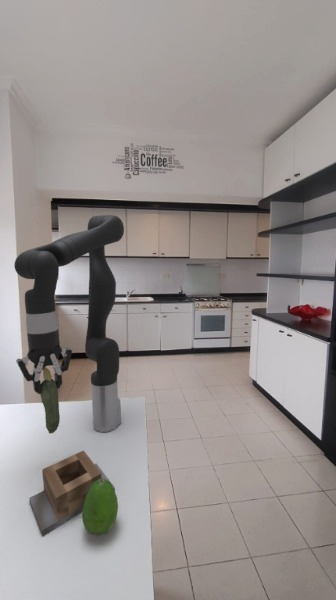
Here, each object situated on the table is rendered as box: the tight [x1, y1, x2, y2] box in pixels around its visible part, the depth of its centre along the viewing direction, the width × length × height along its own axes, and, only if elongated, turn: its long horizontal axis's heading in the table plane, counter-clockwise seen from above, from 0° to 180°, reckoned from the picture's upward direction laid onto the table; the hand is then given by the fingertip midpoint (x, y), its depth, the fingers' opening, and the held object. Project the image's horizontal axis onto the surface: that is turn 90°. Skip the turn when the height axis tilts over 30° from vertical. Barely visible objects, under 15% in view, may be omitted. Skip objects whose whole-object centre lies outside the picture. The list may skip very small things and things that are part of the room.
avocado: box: [81, 479, 119, 536], centre depth 61 cm, size 8×8×12 cm
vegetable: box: [39, 366, 61, 435], centre depth 75 cm, size 4×4×20 cm
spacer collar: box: [28, 450, 116, 537], centre depth 70 cm, size 18×11×8 cm, turn 129°
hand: (48, 389), depth 74 cm, fingers closed on vegetable, 4 cm apart
